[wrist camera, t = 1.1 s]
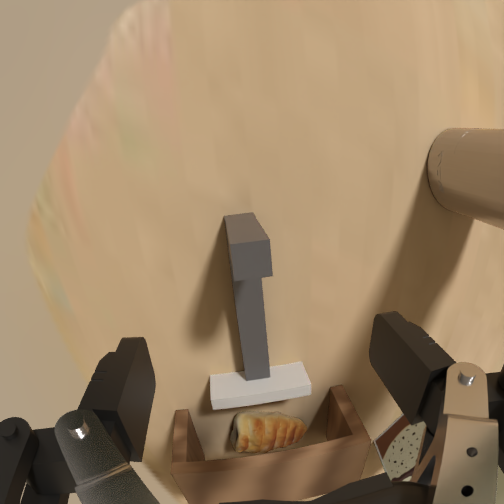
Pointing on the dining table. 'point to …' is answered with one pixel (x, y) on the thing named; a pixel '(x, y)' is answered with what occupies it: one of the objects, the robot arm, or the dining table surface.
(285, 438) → the pastry
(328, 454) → the low shelf
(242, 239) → the scraper
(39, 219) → the dining table surface
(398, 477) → the food container
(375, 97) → the dining table surface
